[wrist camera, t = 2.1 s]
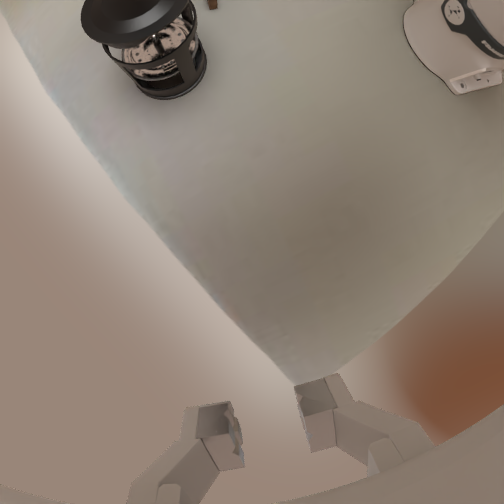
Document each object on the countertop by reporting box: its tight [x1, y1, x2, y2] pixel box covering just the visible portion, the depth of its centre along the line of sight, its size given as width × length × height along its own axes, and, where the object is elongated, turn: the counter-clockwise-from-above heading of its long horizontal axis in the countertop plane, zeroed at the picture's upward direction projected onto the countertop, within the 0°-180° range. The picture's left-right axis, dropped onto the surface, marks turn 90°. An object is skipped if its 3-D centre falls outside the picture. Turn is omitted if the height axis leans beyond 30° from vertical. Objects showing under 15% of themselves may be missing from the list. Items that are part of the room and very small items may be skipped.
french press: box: [81, 0, 207, 100], centre depth 21 cm, size 12×9×23 cm
